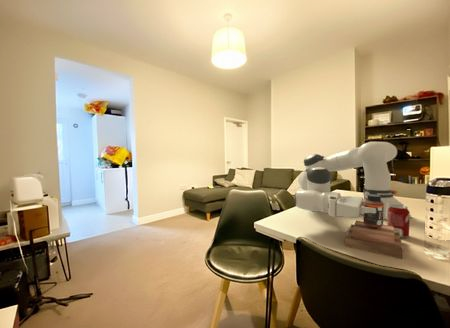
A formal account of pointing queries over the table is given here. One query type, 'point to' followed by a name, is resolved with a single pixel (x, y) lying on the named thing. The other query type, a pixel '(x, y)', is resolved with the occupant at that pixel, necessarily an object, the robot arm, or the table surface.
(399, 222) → the soda can
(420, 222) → the table surface
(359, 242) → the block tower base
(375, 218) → the supplement bottle
